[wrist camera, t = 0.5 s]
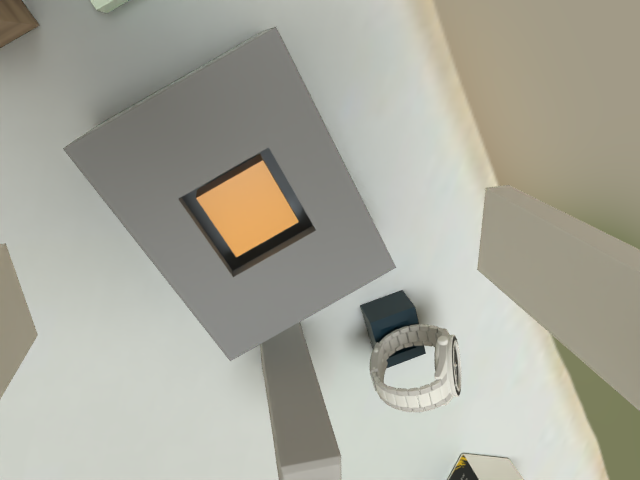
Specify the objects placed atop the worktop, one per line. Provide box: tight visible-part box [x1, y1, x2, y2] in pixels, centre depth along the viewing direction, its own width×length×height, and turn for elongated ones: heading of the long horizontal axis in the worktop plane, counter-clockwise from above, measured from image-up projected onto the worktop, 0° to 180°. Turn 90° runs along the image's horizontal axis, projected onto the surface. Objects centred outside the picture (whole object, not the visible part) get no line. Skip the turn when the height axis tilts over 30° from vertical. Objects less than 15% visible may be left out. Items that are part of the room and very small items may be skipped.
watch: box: [361, 290, 461, 412], centre depth 41 cm, size 6×8×11 cm
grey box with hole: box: [63, 27, 396, 361], centre depth 34 cm, size 18×14×8 cm
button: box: [196, 154, 299, 257], centre depth 32 cm, size 5×5×2 cm
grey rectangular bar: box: [260, 322, 341, 480], centre depth 33 cm, size 4×5×25 cm
